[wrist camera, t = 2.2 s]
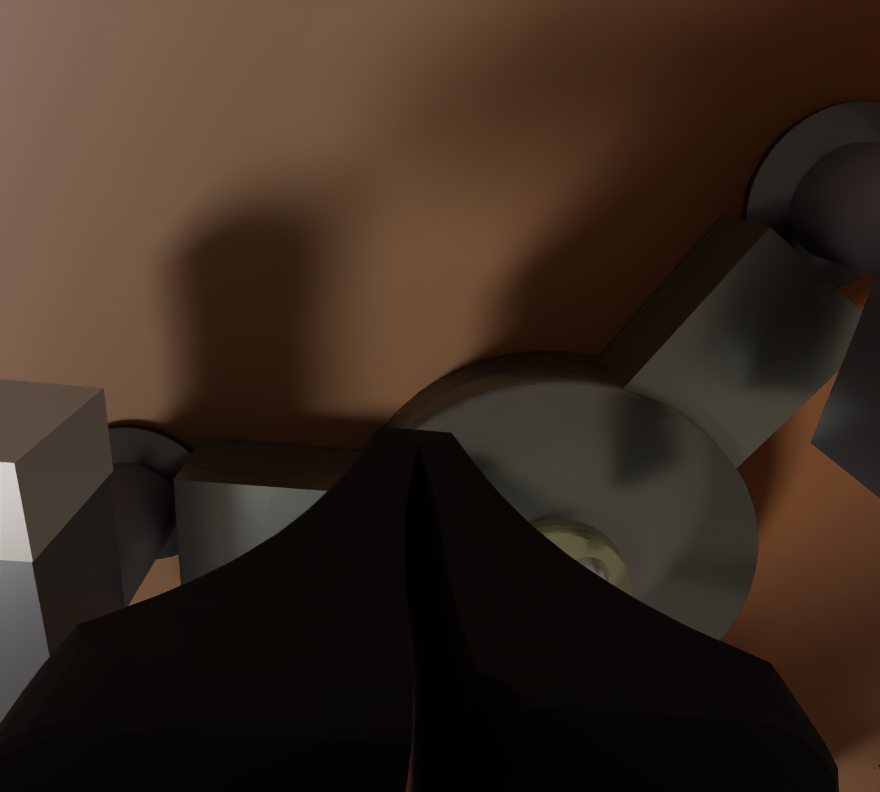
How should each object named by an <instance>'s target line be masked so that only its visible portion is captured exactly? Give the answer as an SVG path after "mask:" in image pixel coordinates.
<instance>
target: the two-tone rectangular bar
mask: <svg viewBox="0 0 880 792" xmlns="http://www.w3.org/2000/svg"><path fill="white" fill-rule="evenodd" d="M791 224H792V229H793V233H794V235H795V237H796V239H797V241H798V242H799V244H800V245H801V246H802V247H803V248H804V249H805V250H806V251H807V252H809V253H810V254H812V255H814V256H816V257H819V258H822V259H825V260H828V261H831V262H834V263H838V264H841V265H844V266H847V267H850V268H853V269H856V270H859V271H862V272H865V273H868V274H871V275H874V276H876V279H875V281H874V284H873V286H872V289H871V291H870V294H869V296H868V299H867V301H866V304H865V307H864V309H863V312H862V314H861V317H860V319H859V322H858V324H857V327H856V329H855V332H854V334H853V337H852V339H851V342H850V344H849V347H848V350H847V352H846V355H845V357H844V360H843V362H842V365H841V367H840V370H839V372H838V375H837V377H836V380H835V382H834V385H833V388H832V390H831V393H830V395H829V398H828V400H827V403H826V405H825V408H824V410H823V413H822V415H821V418H820V420H819V423H818V425H817V428H816V431H815V433H814V436H813V438H812V441H811V443H812V444H813V445H814V446H816V447H817V448H818V449H819V450H820V451H822V452H823V453H824V454H825V455H827V456H828V457H829V458H830V459H832V460H833V461H834V462H835V463H837V464H838V465H839V466H840V467H842V468H843V469H844V470H845V471H847V472H848V473H849V474H850V475H852V476H853V477H854V478H855V479H857V480H858V481H859V482H860V483H862V484H863V485H864V486H865V487H867V488H868V489H869V490H870V491H872V492H873V493H874V494H875V495H877V496H878V497H879V498H880V143H879V142H856V143H851V144H846V145H844V146H841V147H838V148H836V149H834V150H832V151H831V152H829V153H828V154H826V155H824V156H823V157H822V158H821V159H820V160H818V161H817V162H816V163H815V164H814V165H813V166H812V167H811V168H810V169H809V171H808V172H807V173H806V174H805V176H804V178H803V179H802V181H801V182H800V184H799V186H798V188H797V190H796V193H795V196H794V199H793V203H792V208H791Z"/></svg>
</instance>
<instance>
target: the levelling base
mask: <svg viewBox="0 0 880 792" xmlns="http://www.w3.org/2000/svg"><path fill="white" fill-rule="evenodd" d="M856 142H879V143H880V103H876V102H866V101H856V102H845V103H839V104H834V105H830V106H827V107H824V108H822V109H819V110H816V111H815V112H813V113H811V114H809V115H807V116H805V117H803V118H802V119H800V120H799V121H797V122H796V123H794V124H793V125H792V126H791V127H789V128H788V129H787V130H786V131H785V132H783V133H782V134H781V135H780V136H779V137H778V138H777V140H776V141H775V142H774V143H773V144H772V145H771V146H770V148H769V149H768V150H767V151H766V153H765V154H764V156H763V157H762V159H761V160H760V162H759V164H758V165H757V167H756V169H755V171H754V173H753V175H752V177H751V180H750V183H749V186H748V188H747V192H746V196H745V200H744V207H743V219H739V218H736V217H732V216H729V215H725V214H723V215H722V216H721V217H720V219H719V220H718V221H717V222H716V223H715V224H714V225H713V227H712V228H711V229H710V230H709V231H708V232H707V233H706V235H705V236H704V237H703V238H702V239H701V240H700V241H699V243H698V244H697V245H696V246H695V247H694V248H693V249H692V251H691V252H690V253H689V254H688V255H687V256H686V257H685V259H684V260H683V261H682V262H681V263H680V264H679V265H678V267H677V268H676V269H675V270H674V271H673V272H672V273H671V275H670V276H669V277H668V278H667V279H666V280H665V281H664V283H663V284H662V285H661V286H660V287H659V288H658V289H657V291H656V292H655V293H654V294H653V295H652V296H651V297H650V299H649V300H648V301H647V302H646V303H645V304H644V305H643V307H642V308H641V309H640V310H639V311H638V312H637V313H636V315H635V316H634V317H633V318H632V319H631V320H630V321H629V323H628V324H627V325H626V326H625V327H624V328H623V329H622V331H621V332H620V333H619V334H618V335H617V336H616V337H615V339H614V340H613V341H612V342H611V343H610V344H609V345H608V347H607V348H606V349H605V350H604V351H603V352H602V353H601V354H600V356H599V357H596V356H592V355H585V354H579V353H573V352H564V351H533V352H522V353H513V354H508V355H504V356H499V357H495V358H490V359H486V360H484V361H481V362H478V363H475V364H472V365H469V366H466V367H464V368H461V369H459V370H457V371H455V372H453V373H451V374H449V375H447V376H445V377H443V378H441V379H439V380H438V381H436V382H435V383H433V384H432V385H430V386H429V387H427V388H426V389H424V390H422V391H421V392H419V393H418V394H417V395H416V396H414V397H413V398H412V399H411V400H410V401H409V402H407V403H406V404H405V405H404V406H403V407H402V408H401V409H399V410H398V411H397V413H396V414H395V415H394V416H393V417H392V418H391V419H390V421H389V422H388V423H387V424H386V425H385V426H384V427H392V428H403V429H415V430H427V431H439V432H451V433H452V434H453V435H454V436H455V438H456V439H457V440H458V442H459V443H460V444H461V446H462V447H463V448H464V450H465V451H466V452H467V454H468V455H469V456H470V458H471V459H472V460H473V462H474V463H475V464H476V466H477V467H478V468H479V469H480V471H481V472H482V473H483V474H484V476H485V477H486V478H487V479H488V480H489V481H490V483H491V484H492V485H493V486H494V487H495V488H496V490H497V491H498V492H499V493H500V494H501V495H502V496H503V497H504V498H505V499H506V500H507V501H508V502H509V503H510V504H511V505H512V506H513V507H514V508H515V509H516V510H517V511H518V512H519V513H520V514H521V515H522V516H523V517H524V518H525V519H526V520H527V521H528V522H529V523H530V524H531V525H533V526H534V527H535V528H536V529H537V530H538V531H539V532H541V533H542V534H543V535H544V536H546V537H547V538H548V539H549V540H550V541H552V542H553V543H554V544H555V545H557V546H558V547H559V548H560V549H562V550H563V551H564V552H565V553H567V554H568V555H569V556H571V557H572V558H574V559H575V560H576V561H578V562H579V563H581V564H582V565H583V566H585V567H586V568H588V569H589V570H591V571H592V572H594V573H596V574H597V575H599V576H600V577H602V578H603V579H605V580H606V581H608V582H609V583H611V584H612V585H614V586H615V587H617V588H619V589H620V590H622V591H624V592H625V593H627V594H629V595H631V596H632V597H634V598H636V599H637V600H639V601H641V602H643V603H644V604H646V605H648V606H650V607H652V608H654V609H656V610H658V611H660V612H661V613H663V614H665V615H667V616H669V617H671V618H673V619H675V620H676V621H678V622H680V623H682V624H684V625H686V626H688V627H690V628H692V629H695V630H697V631H699V632H701V633H704V634H706V635H708V636H710V637H713V638H715V639H717V640H719V641H720V640H721V639H722V638H723V636H724V635H725V634H726V633H727V631H728V630H729V628H730V627H731V625H732V624H733V622H734V620H735V619H736V617H737V616H738V614H739V612H740V610H741V608H742V606H743V604H744V602H745V600H746V598H747V595H748V593H749V590H750V587H751V584H752V580H753V577H754V574H755V569H756V562H757V556H758V526H757V520H756V515H755V509H754V505H753V502H752V500H751V497H750V494H749V491H748V489H747V486H746V484H745V482H744V481H743V479H742V477H741V475H740V474H739V472H738V470H737V468H738V467H739V466H740V465H741V464H742V463H743V462H744V461H745V460H746V459H747V458H748V457H749V456H750V455H751V454H752V453H753V452H754V451H755V450H756V449H758V448H759V447H760V446H761V445H762V444H763V443H764V442H765V441H766V440H767V439H768V438H769V437H770V436H771V435H772V434H773V433H774V432H775V431H776V430H777V429H778V428H779V427H780V426H781V425H782V424H784V423H785V422H786V421H787V420H788V419H789V418H790V417H791V416H792V415H793V414H794V413H795V412H796V411H797V410H798V409H799V408H800V407H801V406H802V405H803V404H804V403H805V402H806V401H807V400H808V399H810V398H811V397H812V396H813V395H814V394H815V393H816V392H817V391H818V390H819V389H820V388H821V387H822V386H823V385H824V384H825V383H826V382H827V381H828V380H829V379H830V378H831V377H832V376H833V375H834V374H836V373H837V372H838V371H839V370H840V367H841V365H842V362H843V360H844V357H845V355H846V352H847V350H848V347H849V344H850V342H851V339H852V337H853V334H854V332H855V329H856V327H857V324H858V322H859V319H860V317H861V314H862V312H863V311H862V310H860V309H859V308H858V307H857V306H856V305H855V304H854V303H853V302H852V301H851V300H849V299H848V298H847V297H846V296H845V295H844V294H843V293H842V292H841V291H840V290H839V289H837V288H836V287H840V286H843V285H846V284H849V283H851V282H854V281H856V280H858V279H860V278H862V277H864V276H866V275H867V274H868V273H865V272H862V271H859V270H856V269H853V268H850V267H847V266H844V265H841V264H838V263H834V262H831V261H828V260H825V259H822V258H819V257H816V256H814V255H812V254H810V253H809V252H807V251H806V250H805V249H804V248H803V247H802V246H801V245H800V244H799V242H798V241H797V239H796V237H795V235H794V233H793V229H792V224H791V208H792V203H793V199H794V196H795V193H796V190H797V188H798V186H799V184H800V182H801V181H802V179H803V178H804V176H805V174H806V173H807V172H808V171H809V169H810V168H811V167H812V166H813V165H814V164H815V163H816V162H817V161H818V160H820V159H821V158H822V157H823V156H824V155H826V154H828V153H829V152H831V151H832V150H834V149H836V148H838V147H841V146H844V145H846V144H851V143H856ZM108 430H109V439H110V447H111V456H112V464H114V463H130V464H136V465H140V466H143V467H146V468H148V469H150V470H152V471H154V472H156V473H157V474H159V475H160V476H162V477H163V478H164V479H165V480H166V481H167V482H168V483H169V484H170V485H171V486H172V488H173V489H174V493H175V507H176V521H177V525H176V527H175V528H174V530H173V532H172V533H171V535H170V537H169V538H168V540H167V542H166V543H165V545H164V547H163V548H162V550H161V552H160V553H159V555H158V557H157V558H156V559H162V558H167V557H172V556H175V555H178V554H179V563H180V577H181V585H183V584H185V583H188V582H190V581H192V580H194V579H196V578H199V577H201V576H203V575H205V574H207V573H209V572H211V571H213V570H215V569H217V568H219V567H221V566H223V565H225V564H227V563H229V562H231V561H232V560H234V559H236V558H238V557H239V556H241V555H243V554H244V553H246V552H248V551H249V550H251V549H253V548H254V547H256V546H258V545H259V544H261V543H262V542H264V541H266V540H267V539H269V538H271V537H272V536H274V535H275V534H277V533H278V532H280V531H281V530H282V529H284V528H285V527H286V526H288V525H289V524H290V523H291V522H293V521H294V520H295V519H297V518H298V517H299V516H300V515H302V514H303V513H304V512H305V511H306V510H307V509H309V508H310V507H311V506H312V505H313V504H314V503H315V502H316V501H317V500H318V499H319V498H321V497H322V496H323V495H324V494H325V493H326V492H327V491H328V490H329V489H330V488H331V487H332V486H333V485H334V484H335V483H336V482H337V481H338V480H339V479H340V478H341V477H342V475H343V474H344V473H345V472H346V471H347V470H348V468H349V467H350V466H351V465H352V464H353V463H354V462H355V460H356V459H357V458H358V457H359V455H360V454H361V453H362V451H355V450H342V449H330V448H317V447H305V446H292V445H279V444H267V443H254V442H242V441H229V440H217V439H204V438H202V439H201V440H200V442H199V443H198V445H197V446H196V448H195V449H194V451H193V450H192V449H190V448H189V447H188V446H187V445H185V444H184V443H183V442H181V441H179V440H178V439H176V438H175V437H172V436H170V435H168V434H166V433H164V432H161V431H159V430H156V429H152V428H148V427H144V426H137V425H116V426H109V427H108Z"/></svg>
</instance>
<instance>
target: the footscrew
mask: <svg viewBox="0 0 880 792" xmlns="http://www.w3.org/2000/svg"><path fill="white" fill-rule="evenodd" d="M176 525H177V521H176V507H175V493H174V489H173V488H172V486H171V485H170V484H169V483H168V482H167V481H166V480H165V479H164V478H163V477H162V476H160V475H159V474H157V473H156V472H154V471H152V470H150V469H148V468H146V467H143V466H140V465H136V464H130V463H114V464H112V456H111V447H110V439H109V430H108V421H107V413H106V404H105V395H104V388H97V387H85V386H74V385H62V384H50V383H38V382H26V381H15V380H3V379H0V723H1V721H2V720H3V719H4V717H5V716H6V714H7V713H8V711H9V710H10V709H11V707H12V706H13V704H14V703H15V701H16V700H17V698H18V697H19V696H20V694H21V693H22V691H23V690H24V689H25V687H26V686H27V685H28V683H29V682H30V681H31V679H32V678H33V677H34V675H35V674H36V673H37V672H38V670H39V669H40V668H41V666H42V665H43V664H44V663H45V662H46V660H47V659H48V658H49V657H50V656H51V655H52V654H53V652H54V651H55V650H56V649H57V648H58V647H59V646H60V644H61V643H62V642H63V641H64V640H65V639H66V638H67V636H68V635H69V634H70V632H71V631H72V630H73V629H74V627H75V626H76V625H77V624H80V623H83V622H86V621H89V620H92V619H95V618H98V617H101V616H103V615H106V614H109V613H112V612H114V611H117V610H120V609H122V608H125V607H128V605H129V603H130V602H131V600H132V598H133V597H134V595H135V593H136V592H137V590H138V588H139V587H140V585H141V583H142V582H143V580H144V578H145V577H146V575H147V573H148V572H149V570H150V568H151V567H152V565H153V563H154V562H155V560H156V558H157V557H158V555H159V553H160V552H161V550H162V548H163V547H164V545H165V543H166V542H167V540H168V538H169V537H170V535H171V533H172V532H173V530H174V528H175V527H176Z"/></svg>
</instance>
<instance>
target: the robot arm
mask: <svg viewBox="0 0 880 792" xmlns="http://www.w3.org/2000/svg"><path fill="white" fill-rule="evenodd" d="M411 746H412V765H411V792H839V786H838V768H837V766H836V764H835V762H834V760H833V758H832V756H831V754H830V752H829V750H828V748H827V746H826V744H825V743H824V741H823V740H822V738H821V737H820V735H819V734H818V732H817V731H816V729H815V727H814V726H813V724H812V723H811V721H810V720H809V718H808V717H807V715H806V714H805V712H804V711H803V709H802V708H801V706H800V705H799V703H798V702H797V700H796V699H795V697H794V696H793V694H792V693H791V691H790V690H789V688H788V687H787V685H786V684H785V683H784V681H783V680H782V678H781V677H780V675H779V674H778V673H777V671H776V670H775V669H774V667H773V666H772V665H771V663H769V662H767V661H765V660H762V659H760V658H758V657H756V656H753V655H751V654H749V653H747V652H744V651H742V650H740V649H738V648H735V647H733V646H731V645H728V644H726V643H724V642H722V641H719V640H717V639H715V638H713V637H710V636H708V635H706V634H704V633H701V632H699V631H697V630H695V629H692V628H690V627H688V626H686V625H684V624H682V623H680V622H678V621H676V620H675V619H673V618H671V617H669V616H667V615H665V614H663V613H661V612H660V611H658V610H656V609H654V608H652V607H650V606H648V605H646V604H644V603H643V602H641V601H639V600H637V599H636V598H634V597H632V596H631V595H629V594H627V593H625V592H624V591H622V590H620V589H619V588H617V587H615V586H614V585H612V584H611V583H609V582H608V581H606V580H605V579H603V578H602V577H600V576H599V575H597V574H596V573H594V572H592V571H591V570H589V569H588V568H586V567H585V566H583V565H582V564H581V563H579V562H578V561H576V560H575V559H574V558H572V557H571V556H569V555H568V554H567V553H565V552H564V551H563V550H562V549H560V548H559V547H558V546H557V545H555V544H554V543H553V542H552V541H550V540H549V539H548V538H547V537H546V536H544V535H543V534H542V533H541V532H539V531H538V530H537V529H536V528H535V527H534V526H533V525H531V524H530V523H529V522H528V521H527V520H526V519H525V518H524V517H523V516H522V515H521V514H520V513H519V512H518V511H517V510H516V509H515V508H514V507H513V506H512V505H511V504H510V503H509V502H508V501H507V500H506V499H505V498H504V497H503V496H502V495H501V494H500V493H499V492H498V491H497V490H496V488H495V487H494V486H493V485H492V484H491V483H490V481H489V480H488V479H487V478H486V477H485V476H484V474H483V473H482V472H481V471H480V469H479V468H478V467H477V466H476V464H475V463H474V462H473V460H472V459H471V458H470V456H469V455H468V454H467V452H466V451H465V450H464V448H463V447H462V446H461V444H460V443H459V442H458V440H457V439H456V438H455V436H454V435H453V434H452V433H451V432H439V431H427V430H415V429H403V428H392V427H381V428H379V429H378V430H377V431H375V432H374V434H373V436H372V438H371V440H370V441H369V443H368V444H367V446H366V447H365V449H364V450H363V451H362V453H361V454H360V455H359V457H358V458H357V459H356V460H355V462H354V463H353V464H352V465H351V466H350V467H349V468H348V470H347V471H346V472H345V473H344V474H343V475H342V477H341V478H340V479H339V480H338V481H337V482H336V483H335V484H334V485H333V486H332V487H331V488H330V489H329V490H328V491H327V492H326V493H325V494H324V495H323V496H322V497H321V498H319V499H318V500H317V501H316V502H315V503H314V504H313V505H312V506H311V507H310V508H309V509H307V510H306V511H305V512H304V513H303V514H302V515H300V516H299V517H298V518H297V519H295V520H294V521H293V522H291V523H290V524H289V525H288V526H286V527H285V528H284V529H282V530H281V531H280V532H278V533H277V534H275V535H274V536H272V537H271V538H269V539H267V540H266V541H264V542H262V543H261V544H259V545H258V546H256V547H254V548H253V549H251V550H249V551H248V552H246V553H244V554H243V555H241V556H239V557H238V558H236V559H234V560H232V561H231V562H229V563H227V564H225V565H223V566H221V567H219V568H217V569H215V570H213V571H211V572H209V573H207V574H205V575H203V576H201V577H199V578H196V579H194V580H192V581H190V582H188V583H185V584H183V585H181V586H179V587H177V588H174V589H172V590H170V591H167V592H165V593H162V594H160V595H158V596H155V597H152V598H150V599H147V600H144V601H141V602H139V603H136V604H133V605H131V606H128V607H125V608H122V609H120V610H117V611H114V612H112V613H109V614H106V615H103V616H101V617H98V618H95V619H92V620H89V621H86V622H83V623H80V624H77V625H76V626H75V627H74V629H73V630H72V631H71V632H70V634H69V635H68V636H67V638H66V639H65V640H64V641H63V642H62V643H61V644H60V646H59V647H58V648H57V649H56V650H55V651H54V652H53V654H52V655H51V656H50V657H49V658H48V659H47V660H46V662H45V663H44V664H43V665H42V666H41V668H40V669H39V670H38V672H37V673H36V674H35V675H34V677H33V678H32V679H31V681H30V682H29V683H28V685H27V686H26V687H25V689H24V690H23V691H22V693H21V694H20V696H19V697H18V698H17V700H16V701H15V703H14V704H13V706H12V707H11V709H10V710H9V711H8V713H7V714H6V716H5V717H4V719H3V720H2V721H1V723H0V792H405V790H406V783H407V776H408V768H409V761H410V753H411Z"/></svg>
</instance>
